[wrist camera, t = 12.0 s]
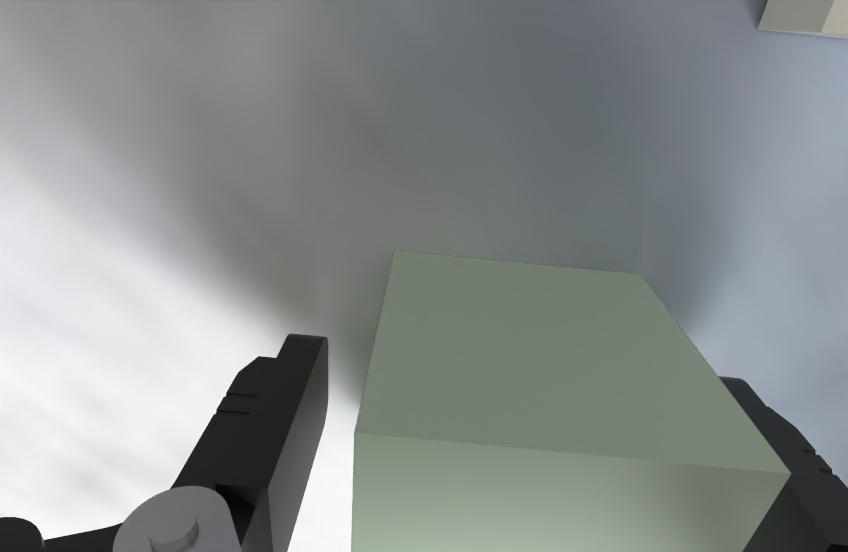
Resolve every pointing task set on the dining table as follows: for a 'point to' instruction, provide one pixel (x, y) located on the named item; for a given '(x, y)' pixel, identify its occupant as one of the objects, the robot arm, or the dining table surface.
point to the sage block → (547, 419)
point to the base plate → (807, 17)
